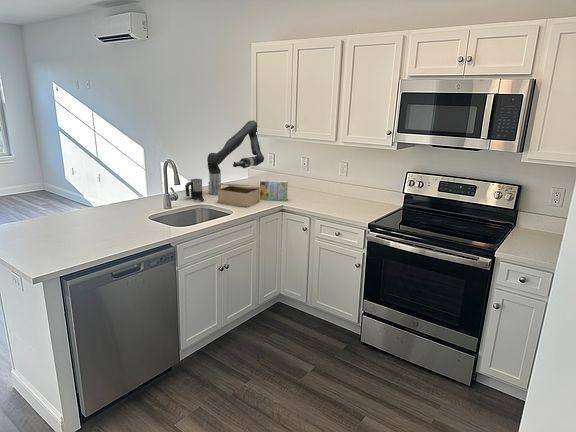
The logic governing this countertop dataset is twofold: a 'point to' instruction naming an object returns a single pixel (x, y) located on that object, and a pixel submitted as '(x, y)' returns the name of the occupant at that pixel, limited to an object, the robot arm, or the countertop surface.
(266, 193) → the snack box
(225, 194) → the carton
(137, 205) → the countertop surface
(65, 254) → the countertop surface
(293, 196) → the countertop surface
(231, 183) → the carton lid
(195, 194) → the milk frother
